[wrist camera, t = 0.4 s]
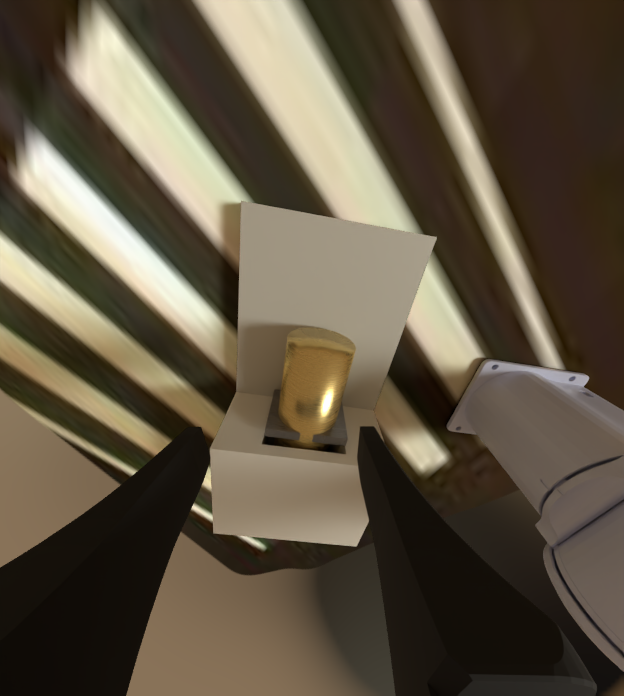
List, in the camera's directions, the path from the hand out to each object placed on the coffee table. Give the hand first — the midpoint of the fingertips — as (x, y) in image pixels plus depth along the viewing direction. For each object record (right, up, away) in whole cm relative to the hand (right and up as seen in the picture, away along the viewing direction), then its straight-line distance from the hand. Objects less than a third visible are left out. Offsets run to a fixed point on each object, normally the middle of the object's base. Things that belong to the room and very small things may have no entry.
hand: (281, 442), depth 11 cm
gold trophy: (+1, 0, +9) cm, 10 cm away
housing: (+1, +2, +10) cm, 10 cm away
